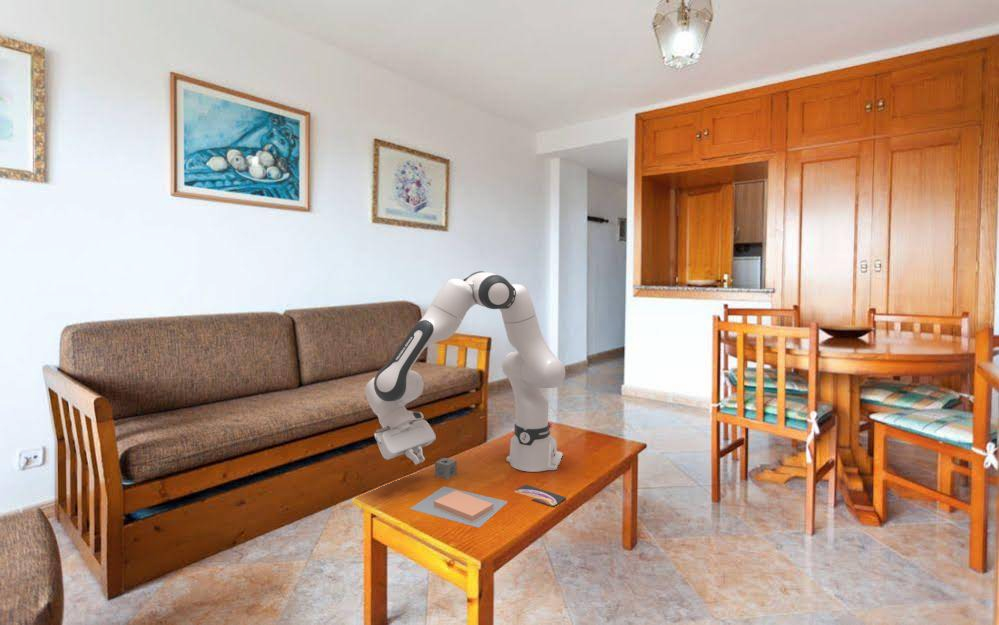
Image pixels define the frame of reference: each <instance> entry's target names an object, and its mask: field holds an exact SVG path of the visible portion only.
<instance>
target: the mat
mask: <svg viewBox="0 0 999 625" xmlns="http://www.w3.org/2000/svg"><path fill="white" fill-rule="evenodd" d="M455 490H456V491H459V492H461V493H464V494H467V495H470V496H473V497H475V498H478V499H481V500H484V501H487V502H490V503H492V504H493V511H491V512H490V513H488V514H486V515H484V516H483V517H481V518H479V519H478V520H476V521H474V522H473V523H472V522H469V521H467V520H464V519H462V518H459V517H457V516H454V515H452V514H449V513H447V512H444V511H442V510H439V509H437V508H434V501H435V500H437V499H439V498H441V497H443V496H445V495H447V494H449V493H451V492H453V491H455ZM507 503H508V501H507V500H503V499H498V498H494V497H490V496H486V495H482V494H477V493H473V492H468V491H465V490H460V489H456V488H454V487H453V488H452V487H448V486H444V485H443V486H442V487H441V488H439V489H437V490H436V491H435V492H432V494H429V495H428V496H427V497H425V498H424V499H422V500H421V501H419V502H417V503H416V504H415V505H412V507H410V508H409V510H412V511H415V512H416V511H417V512H419V513H424V514H427V515H431V516H433V517H438V518H442V519H446V520H447V521H452V522H456V523H460V524H463V525H467V526H470V527H475V528H481V527H482V526H483V525H484V524H485V523H486V522H487V521H488V520H489V519H491V518H492V517H493V516H494V515H495V514H496V513H498V511H500V510H501V509H502V508H503V507H504V506H505V505H506V504H507Z"/></svg>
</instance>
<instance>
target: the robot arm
mask: <svg viewBox="0 0 999 625" xmlns="http://www.w3.org/2000/svg"><path fill="white" fill-rule="evenodd" d="M476 305H478V306H481V307H484V308H487V309H490V310H499V311H500V313H501V317H502V321H503V324H504V328H505V333H506V336H507V340H508V342H509V344H510V345H511V347H513V348H514V349H515V350H516V351H511V352H509V353H507V354H506V355H505V356H504V358H503V360H502V366H501V368H502V372H503V374H504V375H505V377H506V378H507V379H508V381H509V383H510V385H511V388H512V392H513V396H514V400H515V423H514V428H513V430H514V432H513V433H514V436H512V437H511V439H510V447H509V448H510V449H509V455H508V456H506V459H505V460H506V462H508V463H509V465H510V466H511V467H512V468H514V469H516V470H519V471H523V472H530V473H533V472H534V473H536V472H537V473H539V472H545V471H556V470H557V469H558V468H559V466H558V465H560V463H561V461H562V459H563V457H562V456H563V455H564V454H563V452H561V451H558V450H557V448H558V447H557V446H558V445H557V440H556V439H555V438H554V437H553V436H552V435H551V430H550V429H551V428H552V426H553V424H552V422H551V421H549V404H548V403H549V402H548V400H547V398H546V397H545V396H544V395H543V392H542V391H541V389H554V388H558V387H560V385H562V384H563V382H564V380H565V378H566V367H565V364H564V363H563V361H561V360H560V359H559V358H558V357H557V356H556V355H555V354H554V353H553V351H552V350H551V349H550V347H549V345H548V344H547V342H546V341H545V339H544V336H543V335H542V332H541V329H540V328H541V327H540V324H539V321H538V318H537V314H536V310H535V306H534V303H533V300H532V298H531V296H530V293H529V291H528V289H527V287H525V286H524V285H523V284H518V283H513V284H512V283H510V282H509V281H508V279H506V278H505V277H504V276H501V275H499V274H497V273H494V272H490V271H483V270H480V271H475V272H472V273H471V274H470V275H469V276H467V277H466V278H464V279H461V278H450V279H448V280H447V281H446V282H445V284H443V286H442V287H441V289H439V291H438V292H437V294H436V296H435V297H434V298H433V300H432V302H431V303H430V305H429V307H428V309H427V310H426V312H424V315H423V316H422V318H421V319H420V320H419V321H418V322H417V323H416V324H415V325H414V326H413V327H412V328H411V330H410V332H409V333H408V334H407V336H406V337H405V338H404V340H403V342H401V344H400V346H399V348H398V349H397V350H396V352H395V353H394V355H393V356H392V358H391V359H390V360H389V361H388V362H387V363H386V364H385V365H383V366H382V367H381V368H380V369H378V372H377V373H376V375H375V376H374V377H373V378H371V379H370V380H369V381H368V382H367V383H366V384H365V387H364V395H365V398H366V400H367V403H368V404H369V406H370V408H371V410H372V411H373V413H374V414H375V415H376V416H377V418H378V421H379V424H380V426H381V428H378V429H376V430H375V432H374V434H373V435H374V439H375V441H376V443H377V446H378V449H379V451H380V453H381V456H382V458H384V459H385V460H386V461H388V460H391V459H394V458H397V457H399V456H402V455H405V456H406V457H407V458H408V459H410V460H411V461H413V463H414V465H418V464H422V463H423V462H424V461H425V460H426V458H425V456H424V455H423V452H424V451H423V448H424V447H427V446H429V445H431V444H433V443H434V441H436V438H437V437H436V433H435V432H434V430H433V428H432V427H431V425H430V423H428V421H427V420H425V419H424V417H425V416H424V414H423V413H422V412H421V411H413V410H408V409H407V408H406V405H407V404H409V403H412V402H413V401H415V400H417V399H418V398H419V397H420V396H421V395H422V394H423V392H424V389H425V381H424V378H423V376H422V374H420V373H419V372H418V371H416V370H412V368H413V366H414V365H415V363H416V362H417V360H418V358H419V357H420V356H421V354H422V352H423V351H424V350H425V349H426V348H427V347H430V345H432V344H434V343H438V342H441V341H445V340H448V339H450V338H451V337H453V335H454V334H455V333H456V331H457V330H458V329H459V328H460V325H461V324H462V323H463V320H464V318H465V317H466V315H467V312H469V310H470V309H471V308H472V307H474V306H476ZM540 388H541V389H540ZM561 458H562V459H561ZM557 467H558V468H557Z"/></svg>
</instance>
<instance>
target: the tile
mask: <svg viewBox="0 0 999 625" xmlns="http://www.w3.org/2000/svg"><path fill="white" fill-rule="evenodd" d="M434 508H437V509H439V510H442V511H444V512H447V513H449V514H452V515H454V516H457V517H459V518H462V519H464V520H467V521H469V522H472V523H473V522H474V521H476V520H478V519H479V518H481V517H483V516H484V515H486V514H488V513H490V512H491V511H493V504H492V503H490V502H487V501H484V500H481V499H478V498H475V497H473V496H470V495H467V494H464V493H461V492H459V491H456V490H455V491H453V492H451V493H449V494H447V495H445V496H443V497H441V498H439V499H437V500H435V501H434Z"/></svg>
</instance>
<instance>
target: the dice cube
mask: <svg viewBox="0 0 999 625" xmlns="http://www.w3.org/2000/svg"><path fill="white" fill-rule="evenodd" d="M457 462H458V461H457V460H456V459H451V458H447V457H442V458H440V459H439V460H436V461H435V462H434V477H437V478H441V479H445V480H449V479H450V478H452V477H454V476H456V475H457V471H458V469H457Z"/></svg>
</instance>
